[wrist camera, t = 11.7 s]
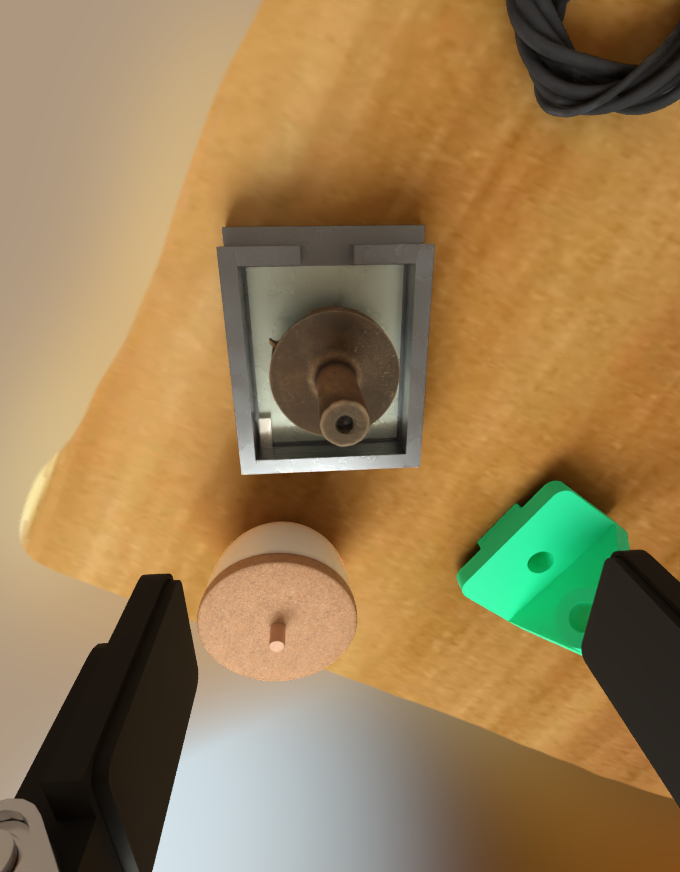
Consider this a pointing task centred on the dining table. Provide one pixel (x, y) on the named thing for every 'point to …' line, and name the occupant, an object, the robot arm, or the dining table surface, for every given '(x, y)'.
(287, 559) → the lidded jar
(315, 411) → the industrial component
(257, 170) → the dining table surface
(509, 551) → the camera mount
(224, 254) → the pocket plate
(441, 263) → the dining table surface
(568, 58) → the cable
